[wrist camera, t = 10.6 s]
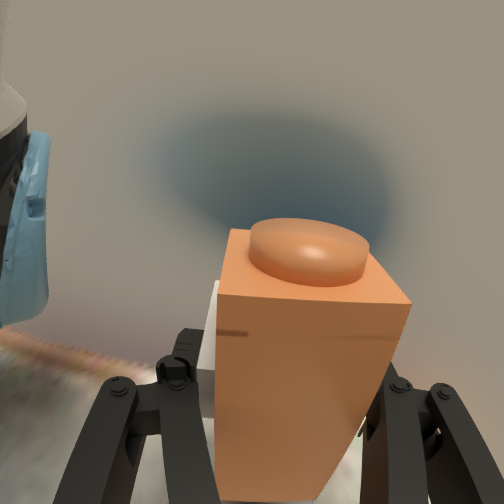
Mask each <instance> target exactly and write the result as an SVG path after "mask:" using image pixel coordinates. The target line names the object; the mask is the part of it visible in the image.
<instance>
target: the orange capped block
mask: <svg viewBox="0 0 504 504" xmlns="http://www.w3.org/2000/svg"><path fill="white" fill-rule="evenodd" d="M411 306H412V303H411V302H410V301H409V299H408V298H407V297H406V296H405V295H404V293H403V292H402V291H401V290H400V288H399V287H398V286H397V285H396V283H395V282H394V281H393V280H392V279H391V278H390V276H389V275H388V274H387V273H386V271H385V270H384V269H383V268H382V267H381V266H380V264H379V263H378V262H377V261H376V260H375V259H374V257H373V256H372V255H371V254H370V253H369V244H368V242H367V241H366V240H365V239H364V238H363V237H361V236H360V235H358V234H356V233H355V232H352V231H350V230H348V229H345V228H343V227H340V226H337V225H333V224H329V223H325V222H320V221H314V220H307V219H297V218H278V219H269V220H264V221H261V222H258V223H256V224H255V225H253V226H252V228H251V230H240V229H231V231H230V236H229V240H228V245H227V249H226V254H225V259H224V263H223V268H222V273H221V277H220V282H219V287H218V292H217V311H216V346H215V416H214V446H215V481H216V485H217V490H218V494H219V497H220V500H229V501H248V502H291V501H310V500H316V498H317V497H318V496H319V494H320V493H321V491H322V490H323V488H324V487H325V485H326V483H327V482H328V480H329V479H330V477H331V476H332V474H333V472H334V471H335V469H336V468H337V466H338V464H339V463H340V461H341V459H342V458H343V456H344V454H345V452H346V451H347V449H348V447H349V445H350V444H351V442H352V440H353V438H354V436H355V435H356V433H357V431H358V429H359V427H360V425H361V423H362V421H363V419H364V417H365V416H366V414H367V412H368V410H369V408H370V406H371V403H372V401H373V399H374V397H375V395H376V393H377V391H378V389H379V387H380V384H381V382H382V380H383V378H384V375H385V373H386V371H387V368H388V366H389V364H390V361H391V359H392V357H393V354H394V352H395V349H396V347H397V344H398V342H399V339H400V336H401V334H402V331H403V328H404V326H405V323H406V320H407V317H408V314H409V312H410V309H411Z"/></svg>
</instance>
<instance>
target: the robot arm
mask: <svg viewBox="0 0 504 504" xmlns="http://www.w3.org/2000/svg"><path fill="white" fill-rule="evenodd" d="M11 4H12V0H0V329H2V327H3V326H5V325H9V324H13V323H17V322H21V321H26V320H29V319H33V318H35V317H37V316H38V315H39V314H41V313H42V311H43V310H44V309H45V307H46V305H47V302H48V297H49V289H48V277H47V261H46V192H47V176H48V164H49V153H50V145H51V138H50V136H49V135H48V134H47V133H40V132H39V131H38V130H34V131H32V132H31V133H30V134H28V131H27V104H26V101H25V100H24V99H23V98H22V97H21V96H20V95H19V94H18V93H17V92H16V91H15V90H13V89H12V88H11V87H10V86H9V85H8V84H7V83H6V82H5V80H4V76H3V65H4V53H5V43H6V35H7V27H8V21H9V15H10V9H11ZM219 282H220V281H215V286H214V290H213V294H212V298H211V303H210V308H209V312H208V317H207V321H206V326H205V330H198V329H188V328H185V329H183V330H182V331H181V332H180V333H179V334H178V336H177V340H176V343H175V346H174V350H173V352H172V355H167V356H165V357H163V358H161V359H160V360H159V361H158V362H157V364H156V373H157V380H158V381H157V382H155V383H152V384H146V385H135V382H134V381H132V380H131V379H130V378H127V377H123V376H116V377H112V378H110V379H108V380H106V381H105V382H104V383H103V385H102V386H101V388H100V390H99V393H98V395H97V397H96V399H95V401H94V403H93V406H92V408H91V410H90V412H89V414H88V417H87V419H86V421H85V424H84V426H83V428H82V430H81V433H80V435H79V437H78V440H77V442H76V444H75V447H74V449H73V452H72V454H71V457H70V459H69V462H68V464H67V467H66V469H65V472H64V474H63V477H62V479H61V482H60V485H59V487H58V490H57V493H56V495H55V498H54V501H53V504H130V500H131V496H132V492H133V488H134V483H135V479H136V475H137V471H138V467H139V463H140V459H141V455H142V451H143V447H144V444H145V440H146V436H147V435H156V434H161V437H162V448H163V458H164V467H165V476H166V484H167V491H168V498H169V504H221V501H220V497H219V494H218V490H217V485H216V481H215V477H214V473H213V469H212V464H211V460H210V455H209V451H208V446H207V442H206V437H205V432H204V427H203V422H202V417H204V418H214V416H215V346H216V311H217V292H218V287H219ZM438 427H439V430H440V432H441V434H439V432H438V430H437V429H438ZM362 432H363V451H362V475H361V492H360V504H429V503H428V495H429V498H430V501H431V504H504V479H503V477H502V475H501V473H500V471H499V469H498V467H497V465H496V463H495V461H494V459H493V457H492V455H491V453H490V451H489V449H488V447H487V445H486V443H485V441H484V440H483V438H482V436H481V434H480V432H479V430H478V429H477V427H476V425H475V423H474V421H473V420H472V418H471V416H470V414H469V413H468V411H467V409H466V407H465V406H464V404H463V402H462V401H461V399H460V397H459V396H458V394H457V392H456V391H455V390H454V388H453V387H451V386H449V385H448V384H444V383H436V384H434V385H433V386H432V387H431V389H430V390H429V391H425V390H418V389H414V388H413V386H412V384H411V383H410V382H409V381H408V380H406V379H404V378H402V377H399V376H398V375H397V372H396V370H395V368H394V366H393V364H392V363H391V361H390V364H389V366H388V368H387V371H386V373H385V375H384V378H383V380H382V382H381V384H380V387H379V389H378V391H377V393H376V395H375V397H374V399H373V401H372V403H371V406H370V408H369V410H368V412H367V414H366V419H365V421H364V423H363V425H362V427H361V429H360V431H359V433H358V436H357V437H360V436H361V434H362Z"/></svg>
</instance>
